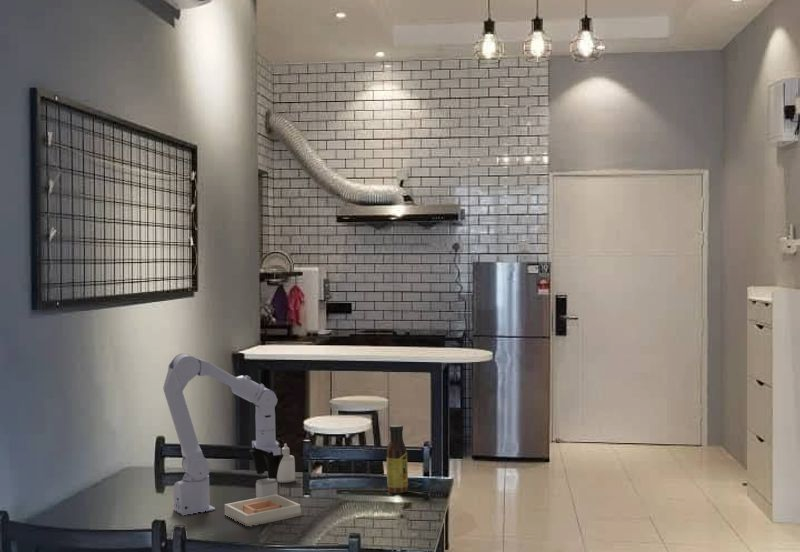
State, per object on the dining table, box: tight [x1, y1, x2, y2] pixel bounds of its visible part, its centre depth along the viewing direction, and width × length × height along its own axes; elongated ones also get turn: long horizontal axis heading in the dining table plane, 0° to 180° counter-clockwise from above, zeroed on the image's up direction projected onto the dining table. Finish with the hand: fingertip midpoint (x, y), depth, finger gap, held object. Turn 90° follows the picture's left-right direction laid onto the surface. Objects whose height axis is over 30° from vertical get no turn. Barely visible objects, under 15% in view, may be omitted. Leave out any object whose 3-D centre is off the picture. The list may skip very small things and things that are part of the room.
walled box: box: [224, 494, 302, 527], centre depth 230 cm, size 16×14×3 cm
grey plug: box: [255, 477, 279, 498], centre depth 245 cm, size 5×4×6 cm
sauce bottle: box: [386, 424, 409, 495], centre depth 252 cm, size 7×6×20 cm
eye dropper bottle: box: [276, 443, 296, 484], centre depth 267 cm, size 4×6×12 cm
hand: (266, 475), depth 245 cm, fingers open, 7 cm apart
